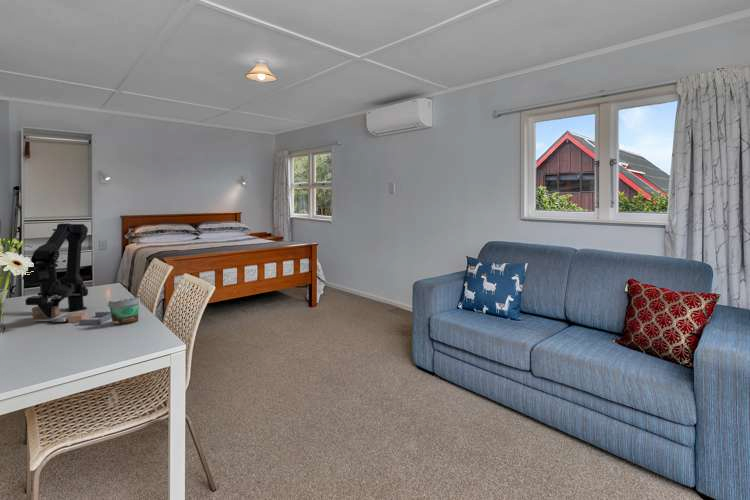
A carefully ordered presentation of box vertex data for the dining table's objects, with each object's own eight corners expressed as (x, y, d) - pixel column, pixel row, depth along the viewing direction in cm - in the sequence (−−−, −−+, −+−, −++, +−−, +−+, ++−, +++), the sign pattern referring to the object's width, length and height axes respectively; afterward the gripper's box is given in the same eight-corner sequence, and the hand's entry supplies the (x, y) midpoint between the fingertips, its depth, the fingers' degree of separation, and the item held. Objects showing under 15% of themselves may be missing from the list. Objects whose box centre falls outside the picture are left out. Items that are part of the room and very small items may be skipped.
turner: (28, 321, 168) (26, 309, 167) (42, 316, 176) (41, 304, 175) (64, 321, 169) (63, 309, 168) (76, 315, 177) (75, 304, 176)
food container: (117, 328, 164) (115, 303, 162) (109, 325, 167) (107, 301, 166) (148, 320, 174) (146, 297, 173) (139, 318, 177) (138, 295, 176)
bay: (79, 324, 168) (78, 320, 167) (96, 316, 179) (96, 311, 179) (99, 324, 168) (99, 319, 168) (116, 316, 180) (115, 311, 180)
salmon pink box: (68, 323, 170) (67, 316, 170) (75, 319, 175) (74, 312, 175) (81, 322, 171) (81, 315, 171) (88, 319, 176) (87, 312, 176)
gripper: (52, 284, 162) (56, 323, 164) (83, 275, 180) (86, 310, 182) (22, 284, 161) (26, 323, 163) (56, 275, 179) (59, 310, 181)
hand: (51, 316), depth 172 cm, fingers closed on turner, 2 cm apart
